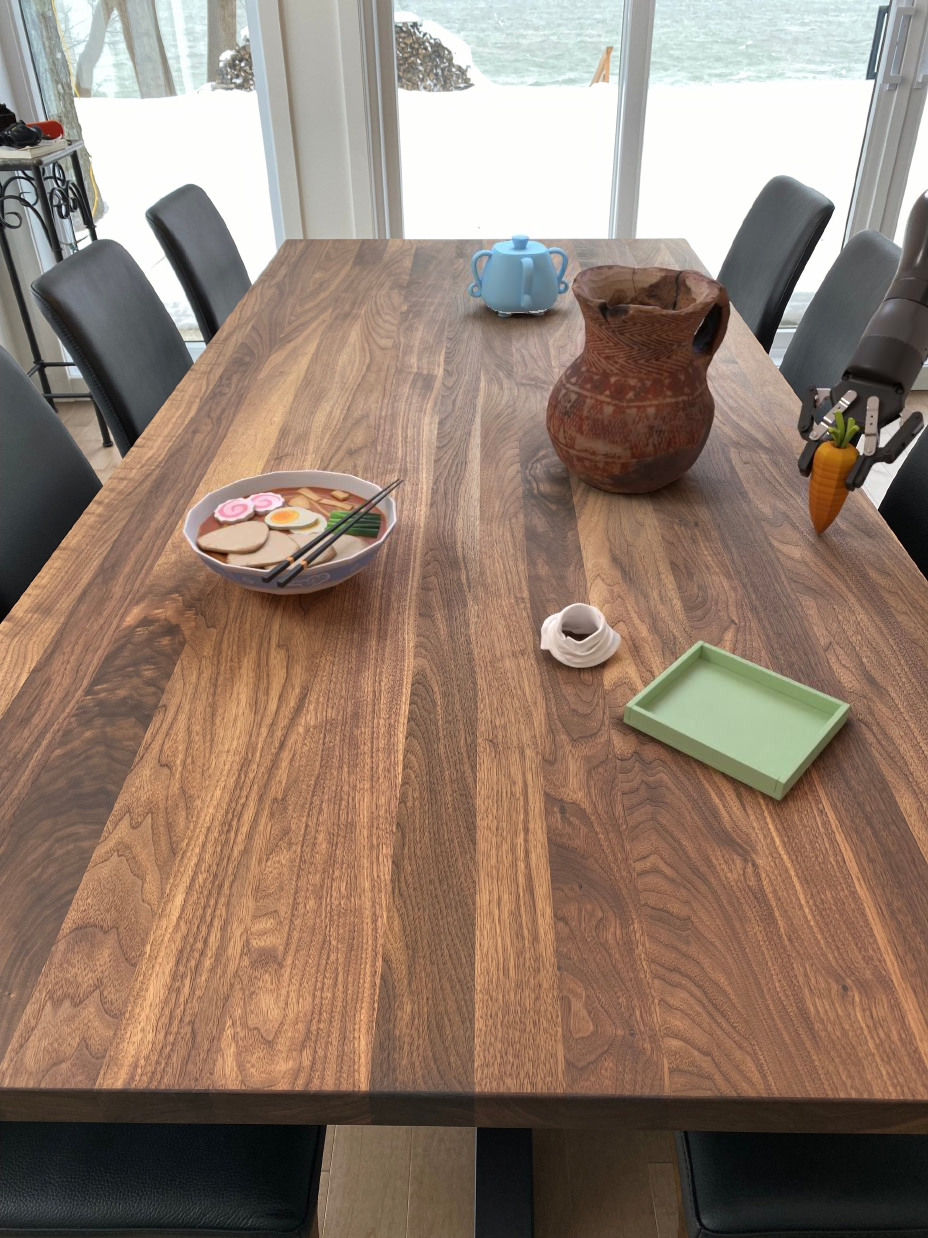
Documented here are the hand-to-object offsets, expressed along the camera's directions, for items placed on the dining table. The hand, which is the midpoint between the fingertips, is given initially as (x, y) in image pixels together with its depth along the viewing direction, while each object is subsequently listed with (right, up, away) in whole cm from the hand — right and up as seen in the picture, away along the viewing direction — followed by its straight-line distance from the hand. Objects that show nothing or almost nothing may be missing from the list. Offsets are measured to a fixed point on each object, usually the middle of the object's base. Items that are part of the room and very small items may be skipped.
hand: (826, 480), depth 111 cm
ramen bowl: (-60, -11, -2) cm, 61 cm away
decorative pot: (-31, +44, +79) cm, 95 cm away
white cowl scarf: (-30, -19, -14) cm, 38 cm away
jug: (-20, +4, +20) cm, 28 cm away
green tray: (-17, -25, -23) cm, 38 cm away
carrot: (+1, -6, +6) cm, 8 cm away
